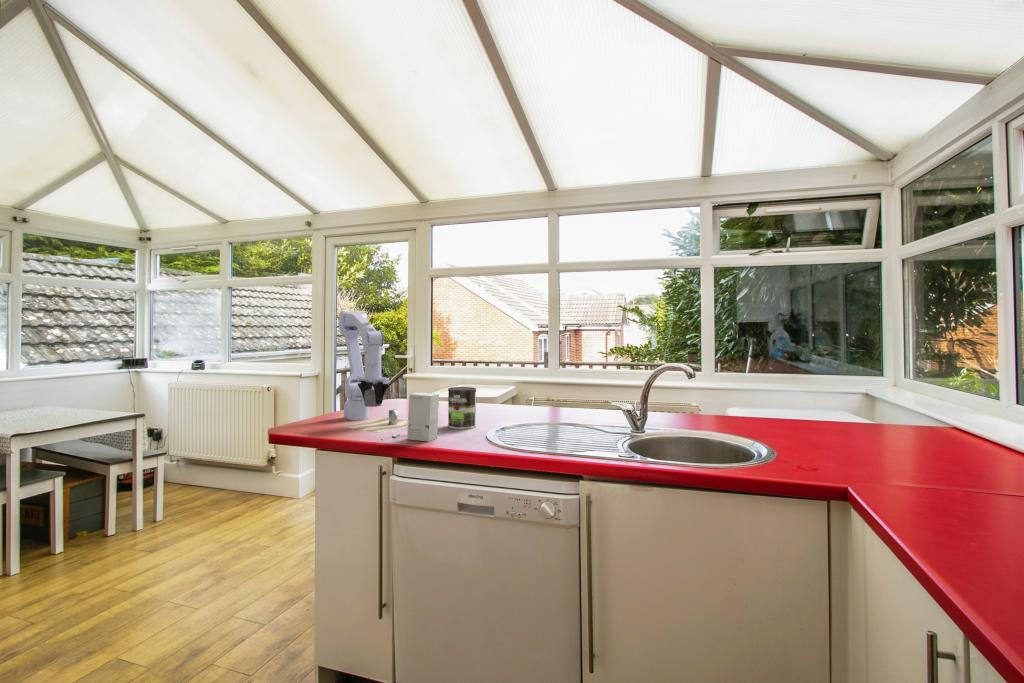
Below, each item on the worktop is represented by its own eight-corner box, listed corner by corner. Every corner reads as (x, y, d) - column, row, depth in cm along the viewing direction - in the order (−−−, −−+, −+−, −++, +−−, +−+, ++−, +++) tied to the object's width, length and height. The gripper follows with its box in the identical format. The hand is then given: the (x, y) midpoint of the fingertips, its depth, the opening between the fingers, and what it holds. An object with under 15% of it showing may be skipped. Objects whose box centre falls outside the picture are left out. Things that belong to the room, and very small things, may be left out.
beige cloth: (341, 430, 166) (341, 426, 166) (386, 421, 184) (386, 417, 184) (376, 436, 157) (376, 432, 157) (420, 426, 174) (420, 422, 174)
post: (386, 428, 170) (386, 410, 170) (393, 427, 173) (393, 409, 173) (392, 429, 169) (392, 411, 169) (399, 427, 171) (399, 410, 171)
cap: (361, 405, 168) (361, 390, 168) (373, 403, 172) (373, 388, 172) (372, 407, 165) (372, 391, 165) (384, 405, 169) (384, 389, 169)
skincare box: (407, 440, 152) (407, 393, 152) (417, 436, 158) (417, 391, 158) (430, 442, 150) (430, 395, 149) (439, 438, 155) (439, 392, 155)
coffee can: (469, 430, 168) (469, 390, 168) (443, 428, 171) (443, 389, 171) (480, 424, 178) (480, 387, 178) (454, 423, 181) (454, 386, 181)
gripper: (350, 364, 169) (350, 402, 169) (378, 366, 161) (378, 406, 161) (366, 363, 175) (366, 400, 175) (393, 365, 167) (393, 403, 167)
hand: (373, 403), depth 169 cm, fingers closed on cap, 6 cm apart
